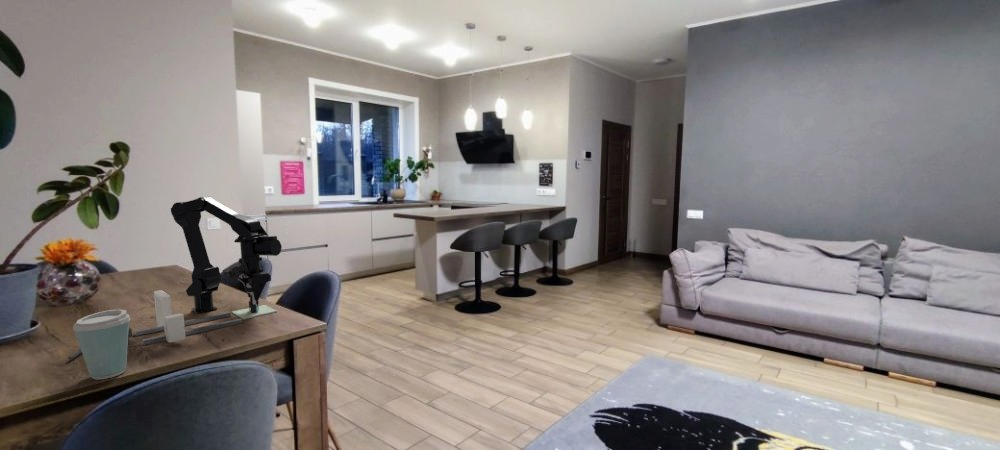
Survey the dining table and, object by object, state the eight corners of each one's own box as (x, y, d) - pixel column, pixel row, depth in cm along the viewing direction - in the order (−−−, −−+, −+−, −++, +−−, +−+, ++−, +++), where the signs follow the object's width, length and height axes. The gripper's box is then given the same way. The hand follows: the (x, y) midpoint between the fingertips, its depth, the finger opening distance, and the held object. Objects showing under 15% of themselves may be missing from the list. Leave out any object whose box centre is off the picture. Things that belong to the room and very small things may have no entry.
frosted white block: (153, 327, 143) (149, 291, 141) (168, 323, 146) (165, 289, 144) (168, 342, 129) (165, 303, 128) (185, 338, 132) (182, 300, 131)
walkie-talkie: (99, 338, 138) (65, 364, 120) (98, 324, 138) (63, 347, 119) (135, 334, 141) (106, 359, 123) (133, 320, 141) (105, 343, 122)
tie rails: (135, 334, 140) (134, 331, 140) (229, 315, 159) (229, 311, 159) (143, 345, 132) (143, 341, 131) (242, 322, 150) (242, 319, 150)
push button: (244, 310, 163) (242, 282, 162) (260, 307, 166) (258, 280, 165) (246, 314, 158) (244, 286, 157) (263, 311, 161) (262, 283, 160)
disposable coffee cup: (104, 385, 106) (97, 323, 104) (66, 382, 108) (58, 320, 106) (146, 366, 117) (140, 309, 115) (111, 364, 118) (105, 307, 117)
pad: (232, 312, 162) (232, 311, 162) (264, 306, 170) (264, 304, 170) (243, 319, 154) (243, 318, 154) (276, 312, 162) (276, 310, 162)
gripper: (215, 255, 160) (219, 298, 162) (234, 261, 147) (237, 309, 149) (250, 250, 168) (253, 292, 170) (270, 257, 156) (273, 301, 157)
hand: (253, 298), depth 161 cm, fingers open, 6 cm apart
